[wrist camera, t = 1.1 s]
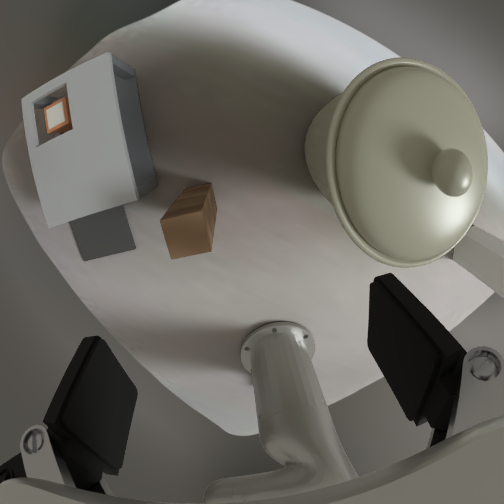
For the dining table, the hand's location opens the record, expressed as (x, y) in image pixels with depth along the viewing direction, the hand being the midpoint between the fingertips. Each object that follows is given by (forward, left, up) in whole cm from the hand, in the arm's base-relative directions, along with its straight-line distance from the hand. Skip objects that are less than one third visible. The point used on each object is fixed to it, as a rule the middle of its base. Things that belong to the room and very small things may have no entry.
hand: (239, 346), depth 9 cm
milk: (-15, -40, -28) cm, 51 cm away
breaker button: (+15, +17, -24) cm, 33 cm away
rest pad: (0, +19, -28) cm, 34 cm away
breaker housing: (+11, +15, -28) cm, 33 cm away
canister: (+3, -16, -28) cm, 33 cm away
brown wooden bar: (0, +4, -28) cm, 28 cm away
